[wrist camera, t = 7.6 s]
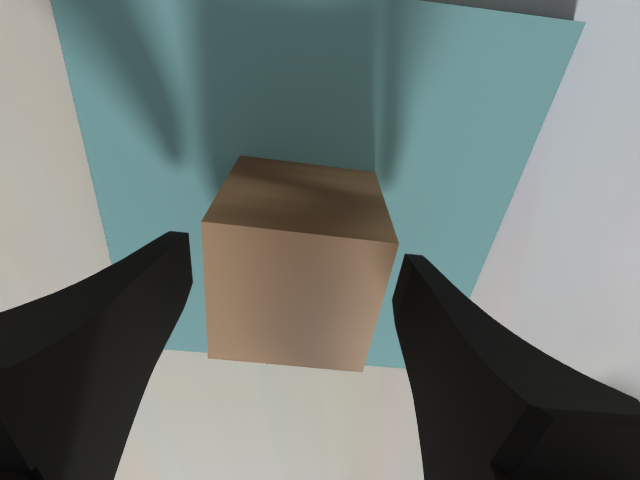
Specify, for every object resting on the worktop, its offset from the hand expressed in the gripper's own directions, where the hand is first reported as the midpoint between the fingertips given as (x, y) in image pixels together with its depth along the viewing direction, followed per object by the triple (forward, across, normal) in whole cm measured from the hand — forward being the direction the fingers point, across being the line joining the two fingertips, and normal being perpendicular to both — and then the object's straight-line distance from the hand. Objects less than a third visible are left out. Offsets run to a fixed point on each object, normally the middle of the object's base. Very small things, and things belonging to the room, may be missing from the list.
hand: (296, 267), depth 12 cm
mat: (+3, 0, 0) cm, 3 cm away
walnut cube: (+3, 0, 0) cm, 3 cm away
